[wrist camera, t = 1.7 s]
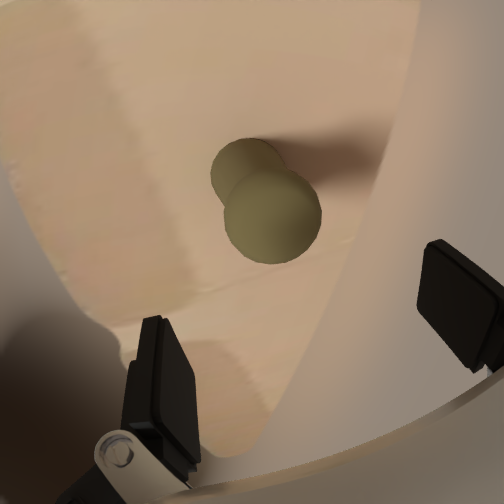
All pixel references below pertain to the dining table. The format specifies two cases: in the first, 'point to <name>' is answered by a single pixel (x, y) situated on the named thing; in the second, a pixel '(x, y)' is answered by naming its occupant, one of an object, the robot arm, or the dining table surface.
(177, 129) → the dining table surface
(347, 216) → the dining table surface
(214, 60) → the dining table surface
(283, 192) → the pepper shaker
